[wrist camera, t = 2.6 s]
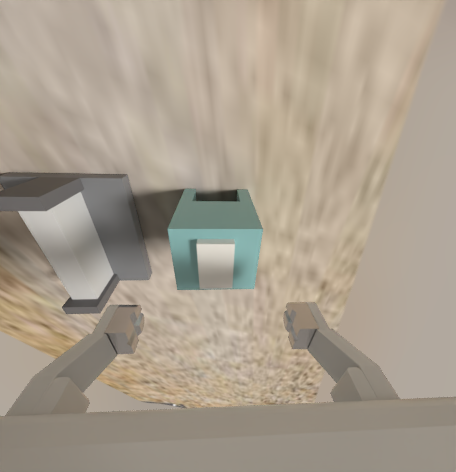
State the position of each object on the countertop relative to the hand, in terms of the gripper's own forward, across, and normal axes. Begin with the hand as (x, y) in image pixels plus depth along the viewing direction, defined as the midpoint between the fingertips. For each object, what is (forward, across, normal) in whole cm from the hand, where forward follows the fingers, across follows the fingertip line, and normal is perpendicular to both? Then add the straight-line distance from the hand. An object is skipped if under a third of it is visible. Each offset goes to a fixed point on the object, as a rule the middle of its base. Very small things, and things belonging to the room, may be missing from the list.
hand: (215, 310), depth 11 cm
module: (+11, 0, -1) cm, 11 cm away
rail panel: (+11, +13, +1) cm, 17 cm away
